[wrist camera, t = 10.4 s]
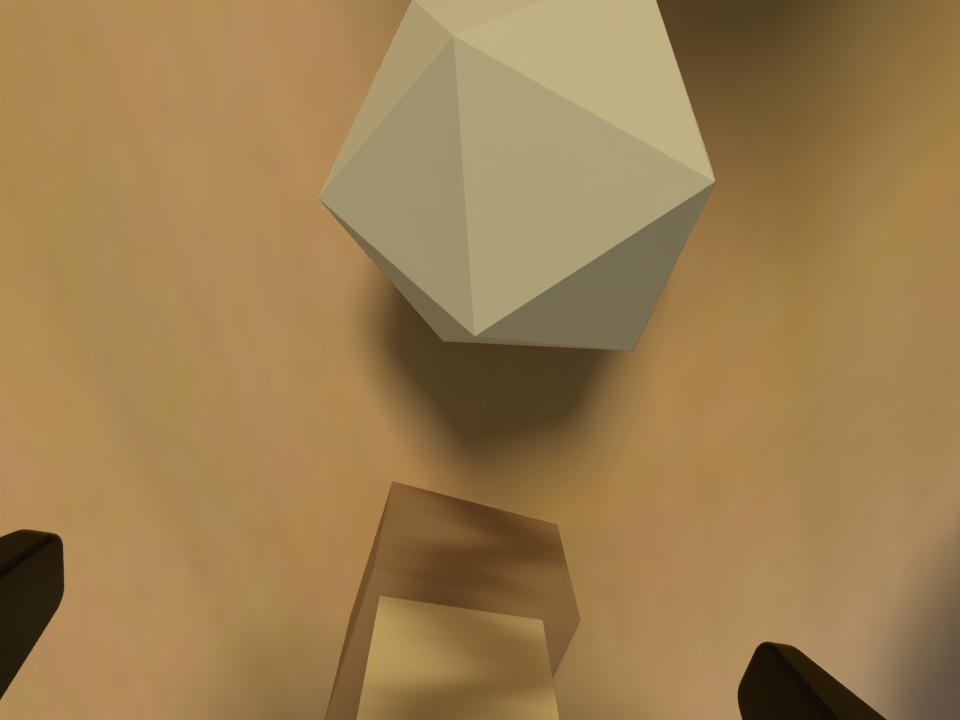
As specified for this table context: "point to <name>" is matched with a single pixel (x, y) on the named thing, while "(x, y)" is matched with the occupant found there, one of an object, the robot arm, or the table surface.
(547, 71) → the beige icosahedron
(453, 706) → the oak block
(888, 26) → the table surface
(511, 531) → the walnut block
